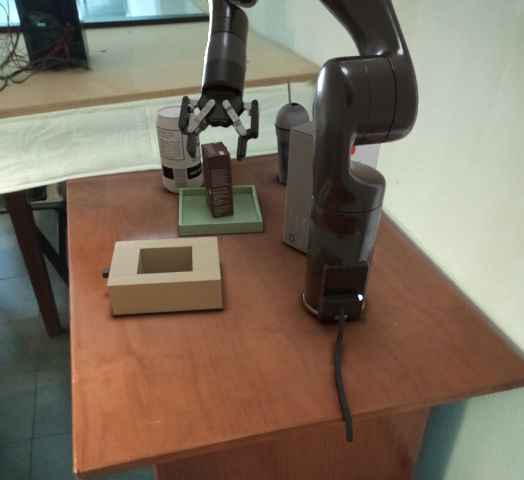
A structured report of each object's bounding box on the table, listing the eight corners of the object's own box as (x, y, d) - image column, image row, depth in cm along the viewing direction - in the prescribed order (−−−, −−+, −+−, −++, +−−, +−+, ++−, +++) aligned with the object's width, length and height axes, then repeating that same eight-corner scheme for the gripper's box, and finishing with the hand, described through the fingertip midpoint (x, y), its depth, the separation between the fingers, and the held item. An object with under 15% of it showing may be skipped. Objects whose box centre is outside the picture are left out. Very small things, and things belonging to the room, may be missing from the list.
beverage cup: (303, 188, 105) (311, 85, 91) (270, 185, 106) (272, 82, 92) (308, 174, 110) (316, 74, 96) (276, 171, 111) (279, 72, 97)
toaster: (223, 309, 74) (221, 279, 70) (103, 317, 73) (94, 286, 69) (219, 265, 83) (217, 236, 79) (112, 270, 82) (105, 241, 78)
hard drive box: (314, 259, 85) (326, 141, 71) (281, 243, 88) (286, 127, 75) (367, 227, 93) (386, 115, 79) (335, 213, 97) (348, 104, 83)
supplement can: (159, 182, 106) (149, 107, 96) (195, 175, 109) (189, 102, 99) (170, 197, 101) (160, 120, 91) (208, 190, 104) (203, 115, 93)
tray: (262, 231, 91) (262, 221, 90) (179, 235, 90) (178, 225, 89) (254, 194, 102) (254, 185, 101) (180, 197, 101) (179, 188, 100)
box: (204, 205, 97) (200, 143, 89) (227, 202, 98) (224, 140, 90) (211, 219, 93) (207, 155, 85) (234, 216, 94) (232, 153, 86)
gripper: (180, 54, 86) (171, 146, 85) (262, 58, 84) (252, 151, 84) (190, 80, 93) (181, 164, 93) (265, 83, 92) (257, 169, 91)
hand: (215, 158), depth 88 cm, fingers open, 8 cm apart
